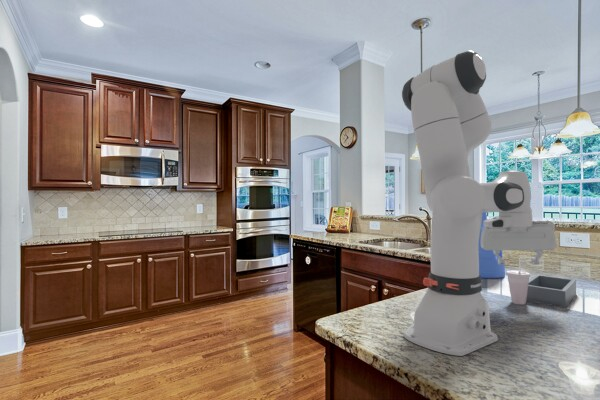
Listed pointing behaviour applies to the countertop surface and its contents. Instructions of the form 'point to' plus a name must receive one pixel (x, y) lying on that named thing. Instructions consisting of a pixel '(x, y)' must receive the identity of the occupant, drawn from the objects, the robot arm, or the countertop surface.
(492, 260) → the water jug
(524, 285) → the smoothie
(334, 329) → the countertop surface
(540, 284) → the crate
